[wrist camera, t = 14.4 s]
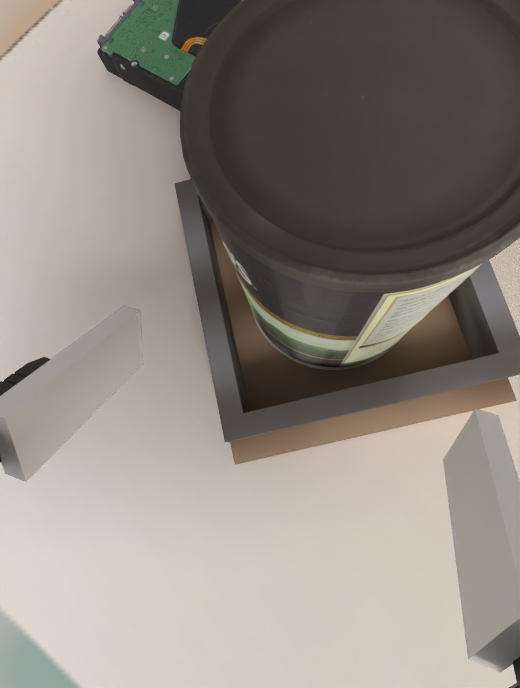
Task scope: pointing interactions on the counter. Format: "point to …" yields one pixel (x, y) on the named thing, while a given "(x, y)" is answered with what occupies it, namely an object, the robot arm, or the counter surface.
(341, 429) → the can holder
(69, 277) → the counter surface
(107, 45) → the disk drive
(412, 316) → the coffee can
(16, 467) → the robot arm
